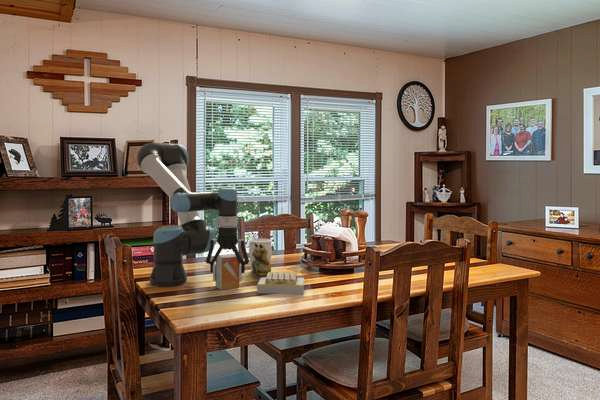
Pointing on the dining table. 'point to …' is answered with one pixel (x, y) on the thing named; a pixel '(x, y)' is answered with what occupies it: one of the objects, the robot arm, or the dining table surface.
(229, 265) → the small box
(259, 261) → the decorative figurine
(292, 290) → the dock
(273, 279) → the pallet
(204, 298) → the dining table surface
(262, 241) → the jar
